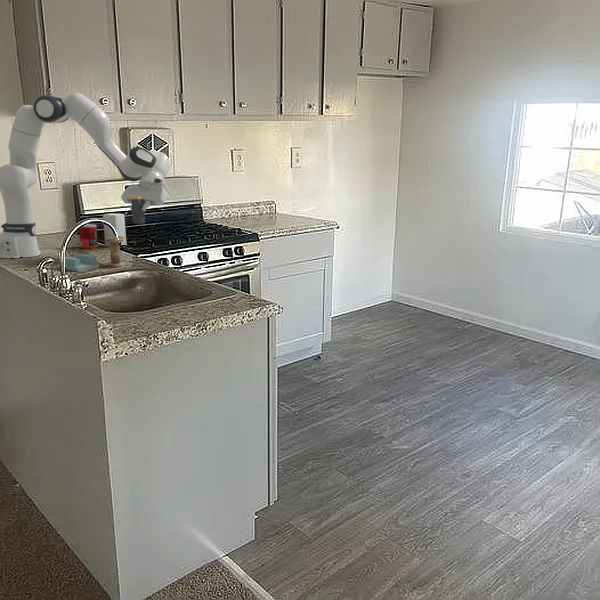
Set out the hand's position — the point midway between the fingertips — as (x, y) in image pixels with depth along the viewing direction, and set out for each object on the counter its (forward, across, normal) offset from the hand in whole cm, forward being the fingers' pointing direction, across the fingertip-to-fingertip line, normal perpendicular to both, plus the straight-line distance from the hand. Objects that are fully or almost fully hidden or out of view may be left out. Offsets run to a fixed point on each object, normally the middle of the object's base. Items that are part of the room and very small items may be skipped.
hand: (137, 210), depth 255 cm
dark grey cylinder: (+3, 0, +4) cm, 5 cm away
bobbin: (+24, -4, +7) cm, 25 cm away
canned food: (+3, -42, +27) cm, 50 cm away
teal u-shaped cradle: (+31, -13, -1) cm, 34 cm away
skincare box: (-5, -35, +35) cm, 50 cm away
